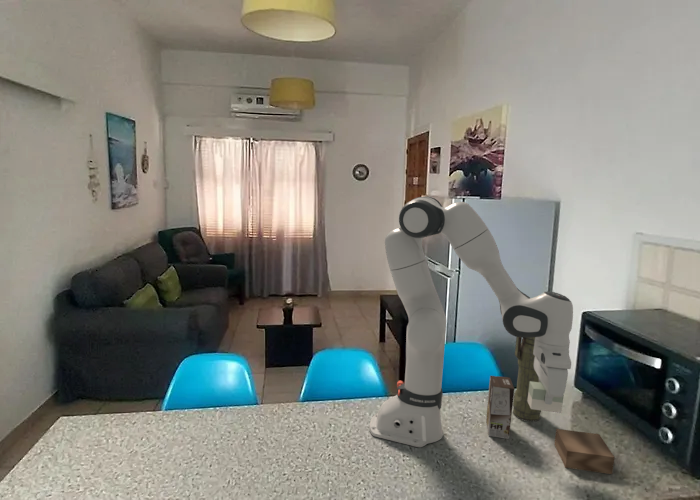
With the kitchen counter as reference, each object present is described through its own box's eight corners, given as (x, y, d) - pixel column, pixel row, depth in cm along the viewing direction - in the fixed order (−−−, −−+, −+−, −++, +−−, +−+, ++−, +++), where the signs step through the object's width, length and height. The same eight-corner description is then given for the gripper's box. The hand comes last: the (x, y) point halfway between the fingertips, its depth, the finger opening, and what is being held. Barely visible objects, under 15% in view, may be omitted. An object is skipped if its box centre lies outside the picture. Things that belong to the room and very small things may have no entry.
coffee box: (509, 439, 142) (515, 389, 139) (487, 436, 143) (492, 386, 141) (506, 424, 151) (510, 377, 148) (485, 421, 152) (489, 374, 150)
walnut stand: (565, 467, 128) (567, 450, 128) (554, 444, 140) (556, 428, 139) (612, 474, 126) (614, 457, 126) (597, 449, 138) (599, 434, 137)
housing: (530, 409, 130) (533, 388, 129) (527, 401, 134) (529, 381, 134) (561, 413, 128) (564, 392, 127) (556, 404, 133) (559, 384, 132)
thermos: (503, 410, 160) (512, 311, 155) (533, 407, 163) (543, 310, 158) (518, 423, 152) (529, 318, 147) (549, 420, 155) (561, 318, 150)
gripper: (531, 337, 140) (526, 381, 142) (547, 362, 120) (541, 413, 122) (553, 340, 139) (548, 384, 141) (573, 365, 119) (566, 416, 121)
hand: (544, 398), depth 131 cm, fingers closed on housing, 5 cm apart
